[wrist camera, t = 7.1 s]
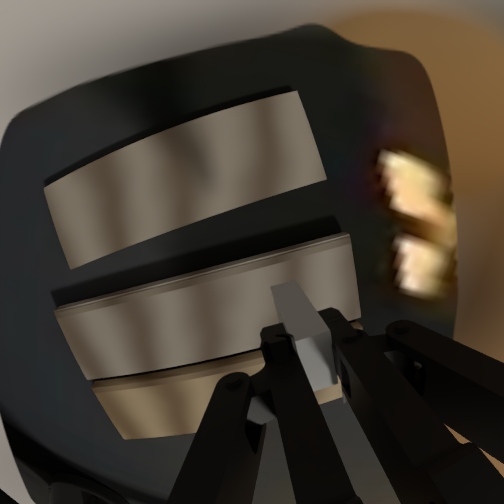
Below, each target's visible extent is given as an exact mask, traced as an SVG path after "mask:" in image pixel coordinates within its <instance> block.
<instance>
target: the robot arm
mask: <svg viewBox="0 0 504 504" xmlns="http://www.w3.org/2000/svg"><path fill="white" fill-rule="evenodd" d="M270 289H271V292H272V296H273V300H274V304H275V308H276V312H277V316H278V320H279V323H278V324H274V325H271V326H267V327H263V328H262V330H261V332H260V337H261V344H260V348H261V351H262V354H263V358H264V361H265V365H264V367H263V368H262V369H261V370H260V371H259V372H257V373H255V374H254V375H252V376H249V375H248V374H247V373H244V372H233V373H229V374H227V375H225V376H223V377H222V378H221V379H219V381H218V382H217V384H216V386H215V389H214V391H213V394H212V396H211V398H210V401H209V403H208V406H207V408H206V411H205V413H204V415H203V418H202V420H201V423H200V425H199V427H198V430H197V432H196V435H195V437H194V439H193V442H192V444H191V446H190V449H189V451H188V454H187V456H186V458H185V461H184V463H183V465H182V468H181V470H180V472H179V475H178V477H177V479H176V482H175V484H174V486H173V489H172V491H171V493H170V496H169V498H168V500H167V503H166V504H252V500H253V495H254V490H255V485H256V480H257V475H258V470H259V465H260V460H261V454H262V449H263V444H264V438H265V433H266V422H268V421H270V420H272V419H274V418H276V417H277V420H278V424H279V429H280V433H281V438H282V442H283V447H284V451H285V456H286V460H287V464H288V469H289V473H290V478H291V482H292V486H293V491H294V495H295V499H296V504H363V502H362V500H361V499H360V497H358V496H357V495H356V494H355V492H354V489H353V487H352V484H351V482H350V479H349V477H348V475H347V472H346V470H345V467H344V465H343V462H342V460H341V457H340V455H339V453H338V450H337V448H336V445H335V443H334V440H333V438H332V435H331V433H330V431H329V428H328V426H327V423H326V421H325V418H324V416H323V414H322V411H321V409H320V406H319V404H318V401H317V399H316V397H315V394H314V391H317V390H320V389H323V388H326V387H330V386H333V385H336V384H338V377H339V379H340V381H341V388H342V395H343V402H344V403H345V402H346V399H347V401H348V403H349V404H350V406H351V408H352V410H353V412H354V414H355V416H356V418H357V420H358V421H359V423H360V425H361V427H362V429H363V431H364V433H365V435H366V437H367V439H368V441H369V442H370V444H371V446H372V448H373V450H374V452H375V454H376V456H377V458H378V460H379V462H380V464H381V466H382V467H383V469H384V471H385V473H386V475H387V477H388V479H389V481H390V483H391V485H392V487H393V489H394V491H395V493H396V495H397V497H398V499H399V501H400V503H401V504H504V478H503V476H502V475H501V474H500V473H499V471H498V470H497V469H496V468H495V467H494V465H493V464H492V463H491V462H490V461H489V459H488V458H487V457H486V456H485V455H484V453H483V452H482V451H481V450H480V449H479V448H481V449H482V450H484V451H485V452H486V453H488V454H489V455H491V456H492V457H494V458H496V459H497V460H499V461H500V462H501V463H503V464H504V363H502V362H500V361H498V360H496V359H494V358H491V357H489V356H487V355H485V354H483V353H480V352H478V351H476V350H474V349H472V348H469V347H467V346H465V345H463V344H461V343H459V342H457V341H454V340H452V339H450V338H448V337H446V336H443V335H441V334H439V333H437V332H435V331H432V330H430V329H428V328H426V327H424V326H421V325H419V324H417V323H415V322H413V321H409V320H399V321H395V322H392V323H390V324H389V325H388V326H387V327H386V329H385V331H386V334H382V335H376V336H368V334H367V333H366V332H365V331H363V330H361V329H354V327H353V326H352V325H351V324H350V323H349V322H348V320H347V319H346V318H345V317H344V316H343V315H342V313H341V312H340V311H339V310H338V309H335V308H333V307H330V308H326V309H323V310H320V311H316V309H315V308H314V306H313V305H312V303H311V302H310V300H309V299H308V297H307V296H306V295H305V293H304V292H303V290H302V289H301V287H300V286H299V284H298V283H297V282H296V280H292V281H289V282H285V283H282V284H278V285H274V286H271V287H270ZM417 362H418V363H420V364H421V365H422V367H419V366H418V365H417ZM337 375H338V377H337ZM444 424H446V425H447V426H448V427H450V428H451V429H453V430H454V431H456V432H457V433H459V434H460V435H462V436H463V437H465V438H466V439H467V440H469V441H470V442H468V443H465V444H461V443H459V442H458V441H457V439H456V438H455V437H454V436H453V434H452V433H451V432H450V431H449V430H448V428H447V427H446V426H445V425H444ZM471 442H472V443H471ZM477 446H478V447H477ZM49 493H50V495H49V504H129V503H128V502H127V501H126V500H124V499H123V498H122V497H121V496H119V495H118V494H116V493H115V492H113V491H111V490H110V489H108V488H106V487H104V486H102V485H100V484H98V483H96V482H94V481H91V480H89V479H86V478H83V477H80V476H77V475H73V474H67V473H58V474H55V475H54V476H53V477H52V479H51V481H50V484H49ZM0 504H19V503H17V502H16V501H15V500H13V499H12V498H11V497H10V496H9V495H7V494H6V493H5V492H4V491H3V490H1V489H0Z"/></svg>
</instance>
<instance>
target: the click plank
mask: <svg viewBox="0 0 504 504" xmlns="http://www.w3.org/2000/svg"><path fill="white" fill-rule="evenodd" d="M292 280H296V282H297V283H298V284H299V286H300V287H301V289H302V290H303V292H304V293H305V295H306V296H307V297H308V299H309V300H310V302H311V303H312V305H313V306H314V308H315V309H316V311H320V310H323V309H326V308H330V307H333V308H335V309H338V310H339V311H340V312H341V313H342V315H343V316H344V317H345V318H346V319H347V320H348V321H351V320H354V319H357V318H360V317H361V313H360V304H359V296H358V288H357V281H356V273H355V267H354V260H353V253H352V247H351V239H350V235H349V234H348V233H346V232H342V233H338V234H334V235H331V236H327V237H323V238H319V239H316V240H312V241H308V242H304V243H301V244H297V245H293V246H289V247H285V248H282V249H278V250H274V251H270V252H266V253H263V254H259V255H255V256H251V257H247V258H244V259H240V260H236V261H232V262H228V263H225V264H221V265H217V266H213V267H209V268H206V269H202V270H198V271H194V272H190V273H186V274H183V275H179V276H175V277H171V278H167V279H163V280H159V281H156V282H152V283H148V284H144V285H140V286H136V287H132V288H129V289H125V290H121V291H117V292H113V293H109V294H105V295H101V296H98V297H94V298H90V299H86V300H82V301H78V302H74V303H70V304H66V305H62V306H59V307H58V308H57V309H55V310H54V314H55V316H56V319H57V320H58V322H59V325H60V327H61V329H62V331H63V333H64V336H65V338H66V340H67V342H68V344H69V346H70V348H71V350H72V352H73V354H74V356H75V358H76V360H77V362H78V364H79V366H80V368H81V369H82V371H83V373H84V375H85V377H86V379H87V380H90V379H98V378H106V377H114V376H121V375H128V374H134V373H140V372H147V371H152V370H158V369H164V368H169V367H175V366H180V365H185V364H190V363H195V362H200V361H204V360H209V359H214V358H218V357H222V356H227V355H231V354H235V353H239V352H243V351H248V350H252V349H255V348H259V347H260V344H261V337H260V332H261V330H262V328H263V327H267V326H271V325H274V324H278V323H279V320H278V316H277V312H276V308H275V304H274V300H273V296H272V292H271V289H270V287H271V286H274V285H278V284H282V283H285V282H289V281H292Z"/></svg>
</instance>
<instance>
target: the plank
mask: <svg viewBox="0 0 504 504" xmlns="http://www.w3.org/2000/svg"><path fill="white" fill-rule="evenodd" d="M325 179H327V178H326V175H325V172H324V168H323V165H322V162H321V159H320V156H319V153H318V149H317V146H316V143H315V140H314V137H313V134H312V131H311V129H310V126H309V123H308V120H307V117H306V114H305V111H304V109H303V106H302V103H301V100H300V98H299V95H298V92H297V91H294V92H289V93H285V94H281V95H276V96H272V97H268V98H265V99H261V100H257V101H253V102H250V103H246V104H242V105H239V106H236V107H232V108H229V109H226V110H222V111H219V112H216V113H213V114H210V115H207V116H204V117H201V118H198V119H195V120H192V121H189V122H186V123H184V124H181V125H178V126H175V127H173V128H170V129H167V130H165V131H162V132H160V133H157V134H155V135H152V136H150V137H147V138H145V139H142V140H140V141H137V142H135V143H133V144H130V145H128V146H126V147H124V148H121V149H119V150H117V151H115V152H113V153H110V154H108V155H106V156H104V157H102V158H100V159H98V160H96V161H94V162H92V163H90V164H88V165H86V166H84V167H82V168H80V169H78V170H76V171H74V172H72V173H70V174H68V175H66V176H65V177H63V178H61V179H59V180H57V181H55V182H54V183H52V184H50V185H48V186H47V187H45V188H44V192H45V195H46V199H47V202H48V206H49V209H50V212H51V216H52V219H53V222H54V225H55V228H56V231H57V234H58V237H59V240H60V243H61V246H62V248H63V251H64V254H65V256H66V259H67V262H68V264H69V267H70V269H73V268H76V267H78V266H81V265H83V264H85V263H88V262H90V261H93V260H95V259H98V258H100V257H103V256H105V255H108V254H110V253H113V252H115V251H118V250H121V249H123V248H126V247H128V246H131V245H134V244H136V243H139V242H141V241H144V240H147V239H149V238H152V237H155V236H157V235H160V234H163V233H166V232H168V231H171V230H174V229H177V228H179V227H182V226H185V225H188V224H191V223H193V222H196V221H199V220H202V219H205V218H208V217H210V216H213V215H216V214H219V213H222V212H225V211H228V210H231V209H234V208H237V207H240V206H243V205H246V204H249V203H252V202H255V201H258V200H261V199H264V198H267V197H270V196H274V195H277V194H280V193H283V192H286V191H289V190H293V189H296V188H299V187H302V186H306V185H309V184H312V183H315V182H319V181H322V180H325Z"/></svg>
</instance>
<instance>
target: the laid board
mask: <svg viewBox="0 0 504 504" xmlns="http://www.w3.org/2000/svg"><path fill="white" fill-rule="evenodd" d="M350 324H351V325H352V326H353V327H354V329H361V330H363V329H362V326H361V324H360V323H359V322H358V321H355V322H352V323H350ZM264 365H265V361H264V358H263V354H262V351H261V350H258V351H254V352H250V353H246V354H242V355H238V356H234V357H229V358H225V359H221V360H216V361H212V362H207V363H202V364H198V365H193V366H188V367H183V368H177V369H172V370H167V371H161V372H155V373H149V374H143V375H137V376H130V377H123V378H116V379H109V380H101V381H95V382H94V384H93V385H92V387H91V388H92V390H93V392H94V393H95V395H96V396H97V398H98V400H99V401H100V403H101V405H102V406H103V408H104V410H105V411H106V413H107V414H108V416H109V418H110V419H111V421H112V422H113V424H114V425H115V427H116V428H117V430H118V431H119V433H120V434H121V436H122V437H123V439H139V438H152V437H163V436H172V435H181V434H188V433H196V432H197V430H198V427H199V425H200V423H201V420H202V418H203V415H204V413H205V411H206V408H207V406H208V403H209V401H210V398H211V396H212V394H213V391H214V389H215V386H216V384H217V382H218V381H219V379H221V378H222V377H223V376H225V375H227V374H229V373H233V372H244V373H247V374H248V375H249V376H252V375H254V374H255V373H257V372H259V371H260V370H261V369H262V368H263V367H264ZM337 377H338V375H337ZM314 394H315V397H316V399H317V401H318V404H322V403H325V402H328V401H331V400H334V399H337V398H340V397H343V395H342V388H341V381H340V379H339V377H338V384H336V385H333V386H330V387H326V388H323V389H320V390H317V391H314Z"/></svg>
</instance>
